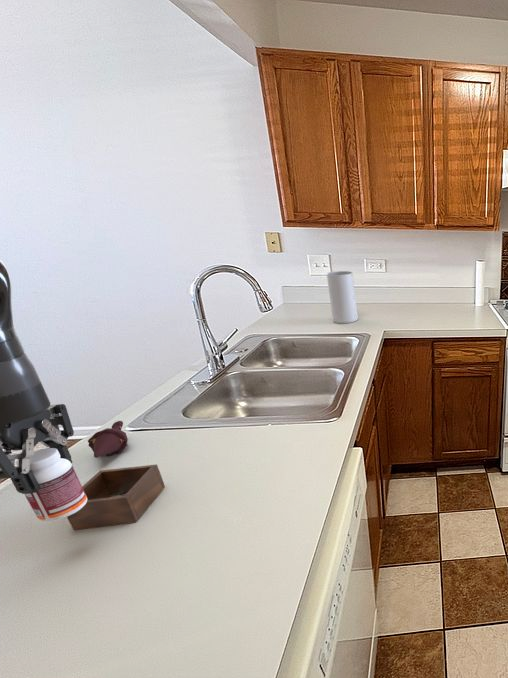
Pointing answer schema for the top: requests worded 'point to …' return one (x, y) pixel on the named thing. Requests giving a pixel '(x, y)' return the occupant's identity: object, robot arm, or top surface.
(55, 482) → the pill bottle
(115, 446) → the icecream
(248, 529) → the top surface
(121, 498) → the box
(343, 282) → the cylinder vase
